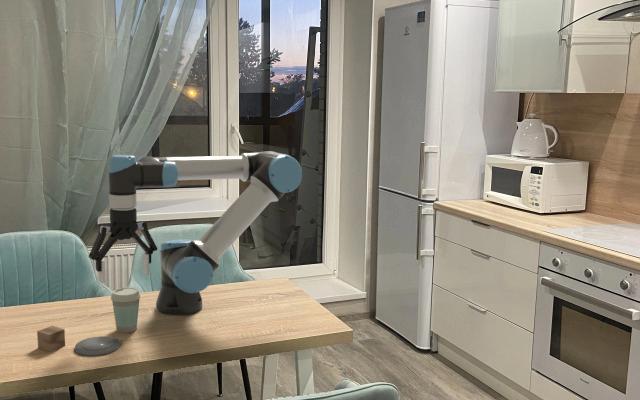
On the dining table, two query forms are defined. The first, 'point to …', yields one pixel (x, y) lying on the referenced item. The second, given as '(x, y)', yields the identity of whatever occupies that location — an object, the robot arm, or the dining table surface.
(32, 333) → the dining table surface
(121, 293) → the coffee cup
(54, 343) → the walnut block
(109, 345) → the saucer
